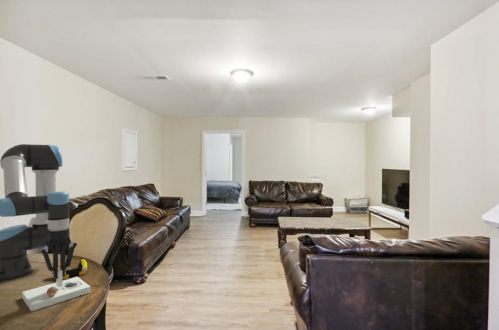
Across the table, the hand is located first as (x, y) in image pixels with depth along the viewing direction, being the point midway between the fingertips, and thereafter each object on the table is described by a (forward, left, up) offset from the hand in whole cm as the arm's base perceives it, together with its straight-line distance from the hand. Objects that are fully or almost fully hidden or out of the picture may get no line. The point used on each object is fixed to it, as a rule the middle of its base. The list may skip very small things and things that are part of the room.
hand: (59, 285), depth 116 cm
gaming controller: (-20, +10, -4) cm, 22 cm away
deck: (0, -1, -4) cm, 4 cm away
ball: (0, +4, -2) cm, 5 cm away
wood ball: (+6, -4, 0) cm, 7 cm away
